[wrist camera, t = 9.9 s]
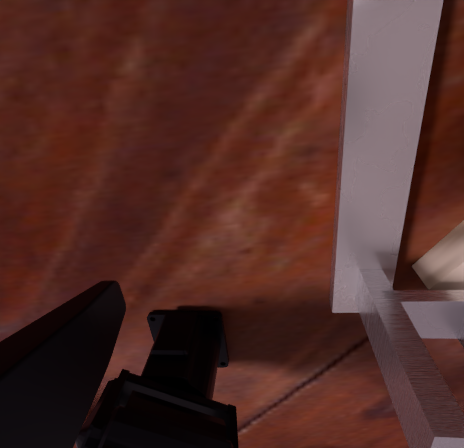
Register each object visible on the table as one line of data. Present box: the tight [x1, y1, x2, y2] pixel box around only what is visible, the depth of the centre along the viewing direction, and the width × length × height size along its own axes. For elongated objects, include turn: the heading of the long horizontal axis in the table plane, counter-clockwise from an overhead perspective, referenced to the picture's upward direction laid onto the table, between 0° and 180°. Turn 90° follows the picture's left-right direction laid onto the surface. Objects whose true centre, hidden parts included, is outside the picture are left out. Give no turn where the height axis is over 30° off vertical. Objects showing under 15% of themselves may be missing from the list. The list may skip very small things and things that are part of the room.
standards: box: [329, 0, 464, 448], centre depth 13 cm, size 24×8×12 cm, turn 6°
